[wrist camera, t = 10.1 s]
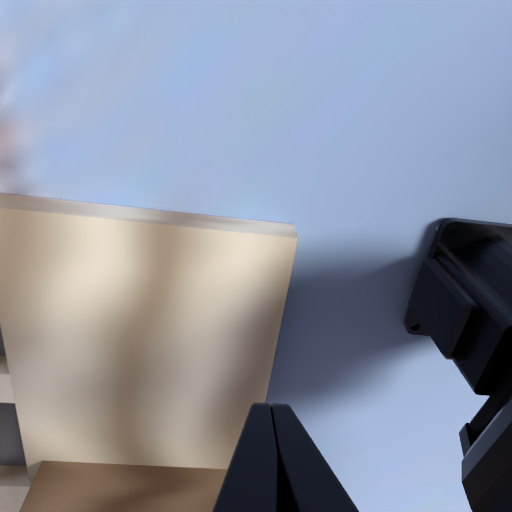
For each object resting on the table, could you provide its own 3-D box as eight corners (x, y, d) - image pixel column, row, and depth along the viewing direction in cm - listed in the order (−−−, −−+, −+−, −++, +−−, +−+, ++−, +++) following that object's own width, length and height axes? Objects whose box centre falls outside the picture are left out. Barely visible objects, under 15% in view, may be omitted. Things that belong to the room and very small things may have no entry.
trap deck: (293, 224, 19) (298, 238, 18) (239, 508, 29) (239, 530, 28) (-183, 173, 17) (-218, 185, 16) (-65, 498, 27) (-80, 522, 26)
